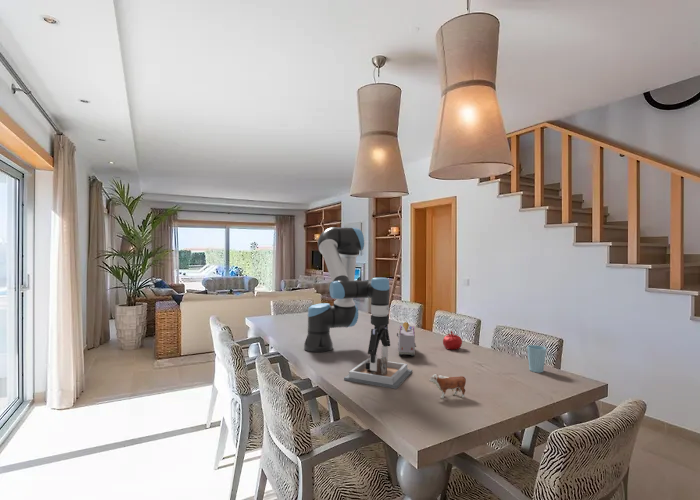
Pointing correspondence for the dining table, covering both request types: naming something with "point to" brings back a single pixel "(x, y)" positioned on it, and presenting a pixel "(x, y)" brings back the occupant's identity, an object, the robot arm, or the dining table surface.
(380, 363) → the caster wheel
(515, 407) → the dining table surface
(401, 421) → the dining table surface
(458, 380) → the bull figurine
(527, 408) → the dining table surface
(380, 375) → the tray
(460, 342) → the pomegranate
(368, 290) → the robot arm
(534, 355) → the cup
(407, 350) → the toy vehicle
